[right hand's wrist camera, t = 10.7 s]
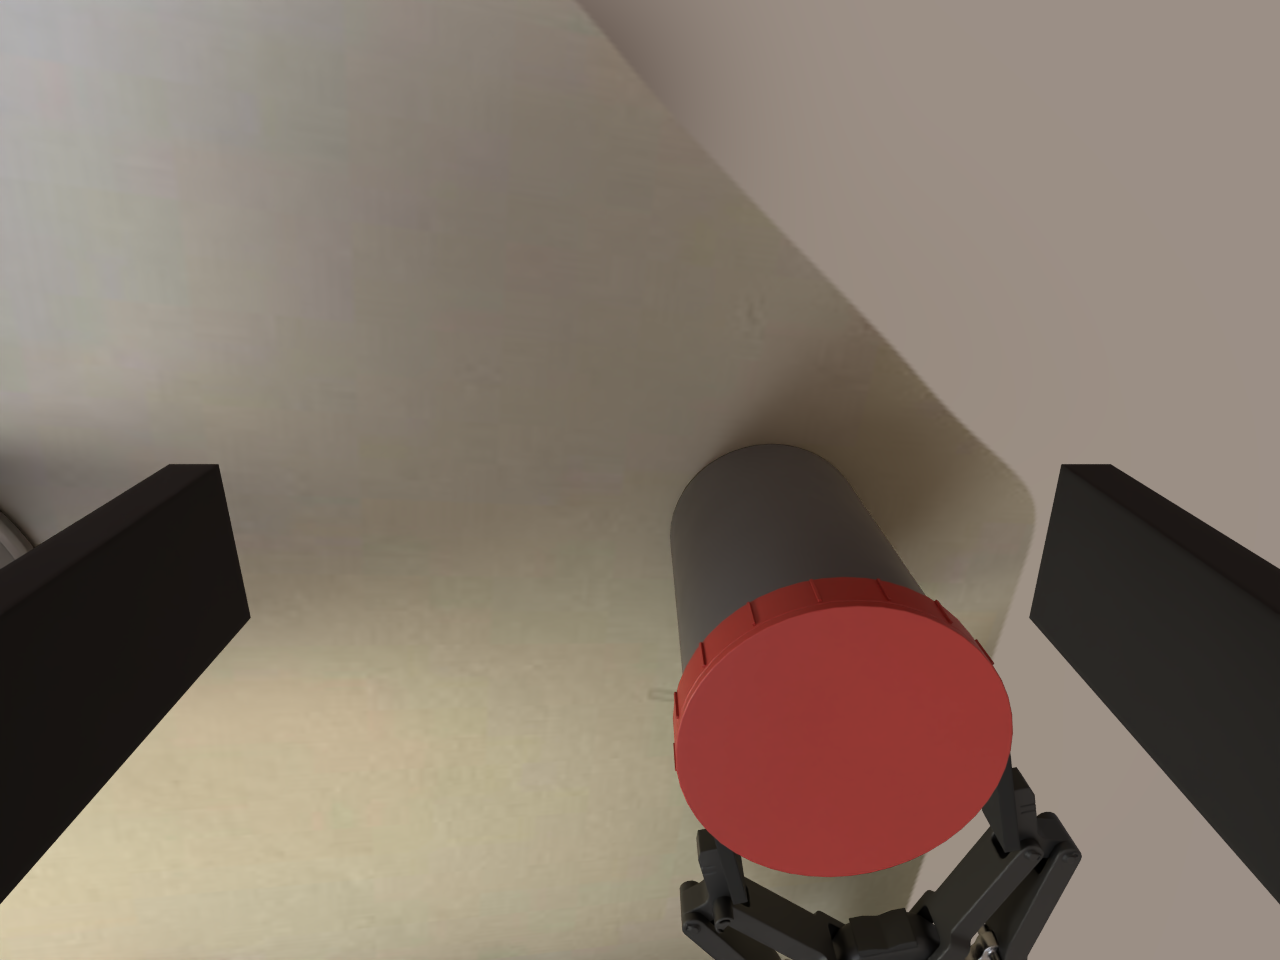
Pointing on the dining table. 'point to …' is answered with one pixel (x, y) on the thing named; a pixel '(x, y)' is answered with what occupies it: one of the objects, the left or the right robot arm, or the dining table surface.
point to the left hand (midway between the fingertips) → (847, 756)
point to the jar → (768, 535)
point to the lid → (839, 727)
